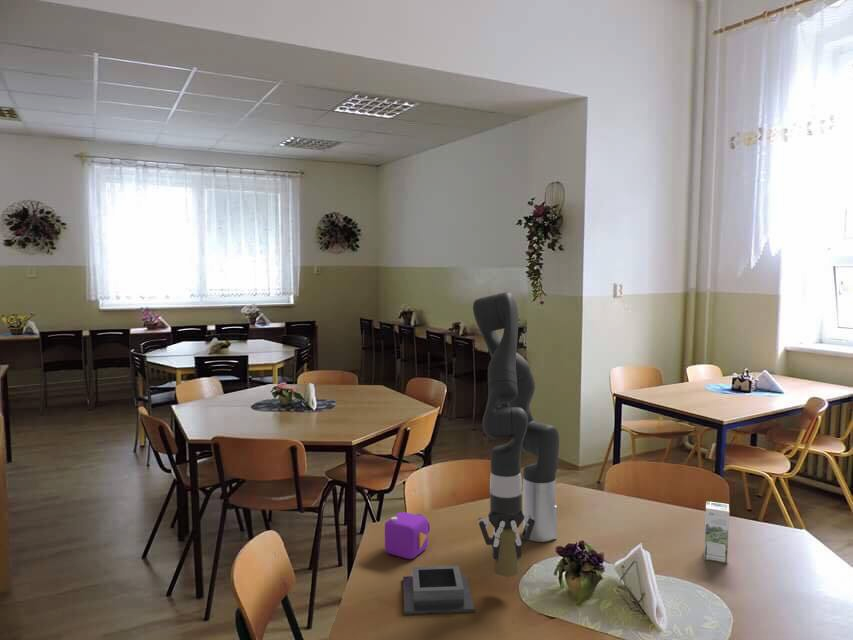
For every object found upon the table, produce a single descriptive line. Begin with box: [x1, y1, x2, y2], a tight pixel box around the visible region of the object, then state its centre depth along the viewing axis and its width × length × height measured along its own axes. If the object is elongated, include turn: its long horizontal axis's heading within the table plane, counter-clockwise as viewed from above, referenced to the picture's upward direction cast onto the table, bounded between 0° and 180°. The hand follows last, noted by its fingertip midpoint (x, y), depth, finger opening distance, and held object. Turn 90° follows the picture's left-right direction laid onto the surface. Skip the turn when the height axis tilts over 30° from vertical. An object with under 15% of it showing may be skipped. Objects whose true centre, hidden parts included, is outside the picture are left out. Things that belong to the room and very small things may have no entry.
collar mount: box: [402, 565, 476, 616], centre depth 150 cm, size 16×16×4 cm
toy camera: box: [384, 511, 431, 560], centre depth 174 cm, size 11×14×10 cm
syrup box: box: [703, 500, 730, 564], centre depth 168 cm, size 6×6×14 cm
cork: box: [493, 528, 520, 578], centre depth 150 cm, size 6×6×11 cm
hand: (506, 559), depth 150 cm, fingers closed on cork, 4 cm apart
